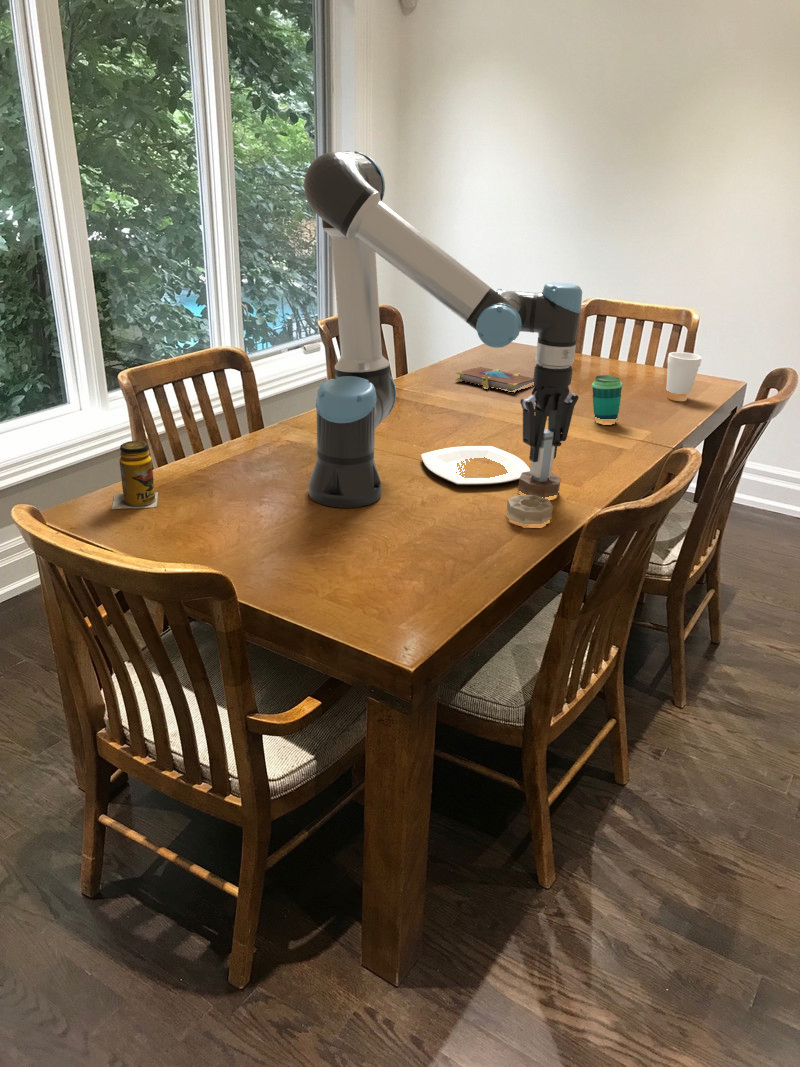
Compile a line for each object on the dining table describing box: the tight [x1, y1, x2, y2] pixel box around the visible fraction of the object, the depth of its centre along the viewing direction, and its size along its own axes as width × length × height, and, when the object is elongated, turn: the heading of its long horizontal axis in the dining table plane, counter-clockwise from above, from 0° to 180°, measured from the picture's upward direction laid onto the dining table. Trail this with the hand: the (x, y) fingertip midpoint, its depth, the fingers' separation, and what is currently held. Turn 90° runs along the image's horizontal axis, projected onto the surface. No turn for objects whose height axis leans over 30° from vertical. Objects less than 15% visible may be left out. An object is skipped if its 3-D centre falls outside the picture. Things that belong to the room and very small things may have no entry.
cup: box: [591, 374, 624, 419], centre depth 220 cm, size 8×8×12 cm
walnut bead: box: [517, 471, 562, 498], centre depth 175 cm, size 8×8×4 cm
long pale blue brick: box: [533, 428, 554, 482], centre depth 172 cm, size 2×2×12 cm
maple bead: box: [506, 494, 554, 524], centre depth 162 cm, size 8×8×4 cm
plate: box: [420, 445, 530, 486], centre depth 186 cm, size 23×23×2 cm
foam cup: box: [665, 351, 703, 394], centre depth 243 cm, size 10×9×13 cm
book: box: [454, 366, 534, 392], centre depth 253 cm, size 16×25×5 cm, turn 53°
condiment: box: [111, 440, 159, 510], centre depth 161 cm, size 7×8×12 cm
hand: (540, 474), depth 173 cm, fingers closed on long pale blue brick, 2 cm apart
